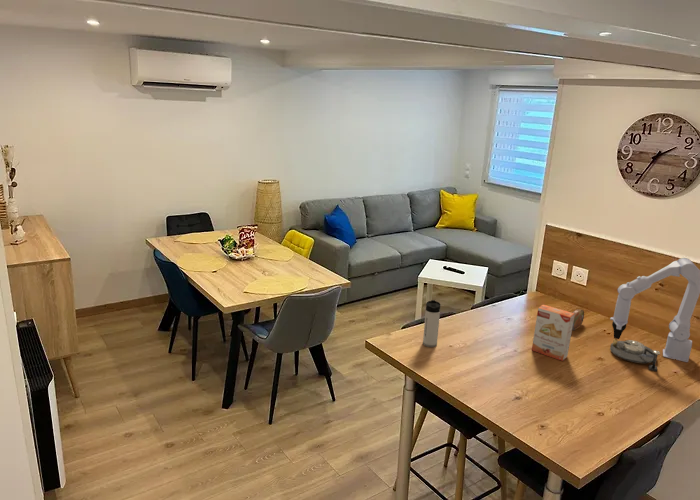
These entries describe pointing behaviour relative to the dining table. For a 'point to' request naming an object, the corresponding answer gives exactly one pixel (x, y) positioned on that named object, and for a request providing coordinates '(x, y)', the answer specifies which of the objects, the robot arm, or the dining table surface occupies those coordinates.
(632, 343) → the cover
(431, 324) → the travel mug
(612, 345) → the disc
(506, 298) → the dining table surface
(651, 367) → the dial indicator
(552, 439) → the dining table surface
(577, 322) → the tin
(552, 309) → the cracker box
